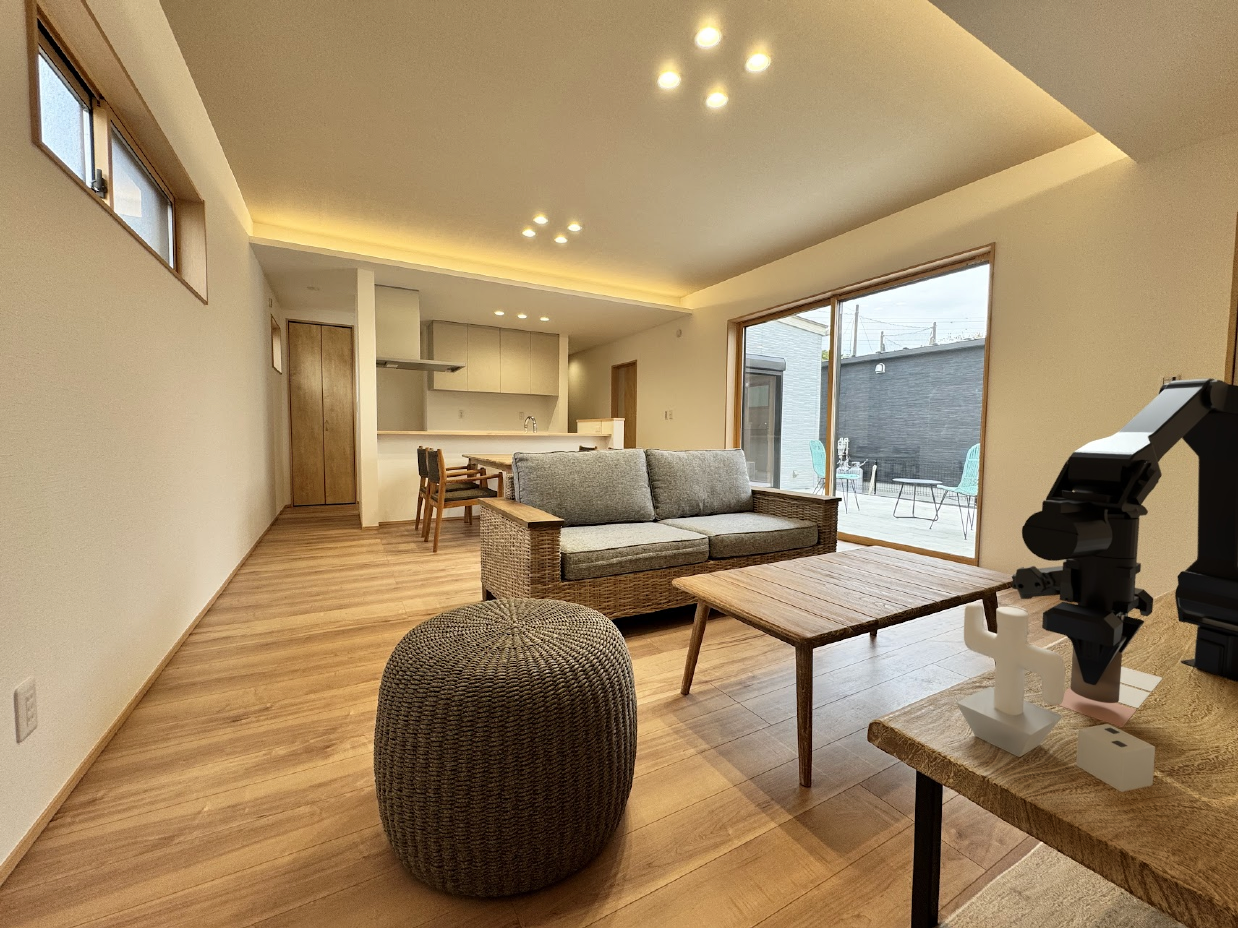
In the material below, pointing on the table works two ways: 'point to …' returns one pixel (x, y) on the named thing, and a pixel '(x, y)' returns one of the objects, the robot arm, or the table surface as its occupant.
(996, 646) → the figurine
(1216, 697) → the table surface
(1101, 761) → the cream box with slots
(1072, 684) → the pawn
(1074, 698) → the game board
